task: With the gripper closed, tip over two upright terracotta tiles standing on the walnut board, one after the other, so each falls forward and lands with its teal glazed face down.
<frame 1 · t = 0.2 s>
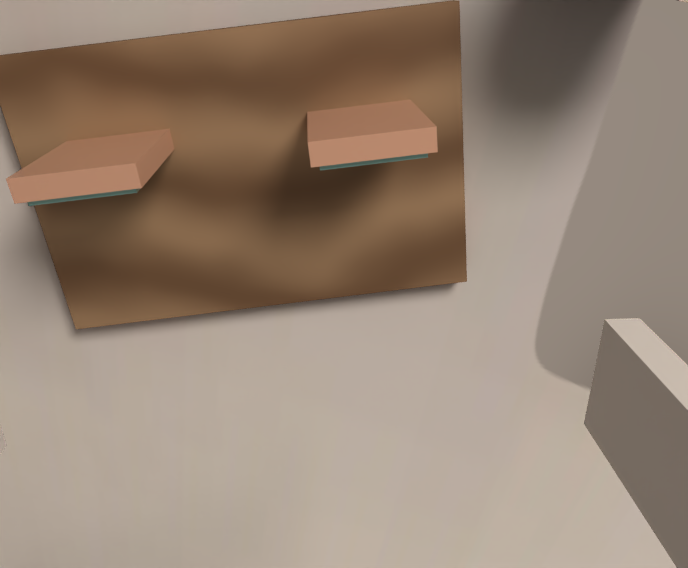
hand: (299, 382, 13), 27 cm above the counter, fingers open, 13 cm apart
tile b: (359, 116, 36), point 1 cm above the counter, touching board
board: (251, 174, 39), on the counter
tile a: (120, 145, 36), point 1 cm above the counter, touching board
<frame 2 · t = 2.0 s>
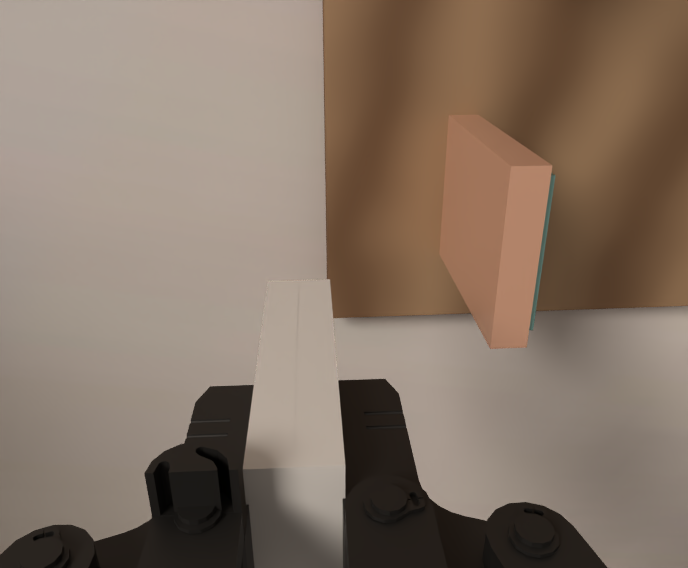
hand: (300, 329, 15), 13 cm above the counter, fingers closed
board: (537, 4, 25), on the counter
tile a: (457, 187, 26), point 1 cm above the counter, touching board
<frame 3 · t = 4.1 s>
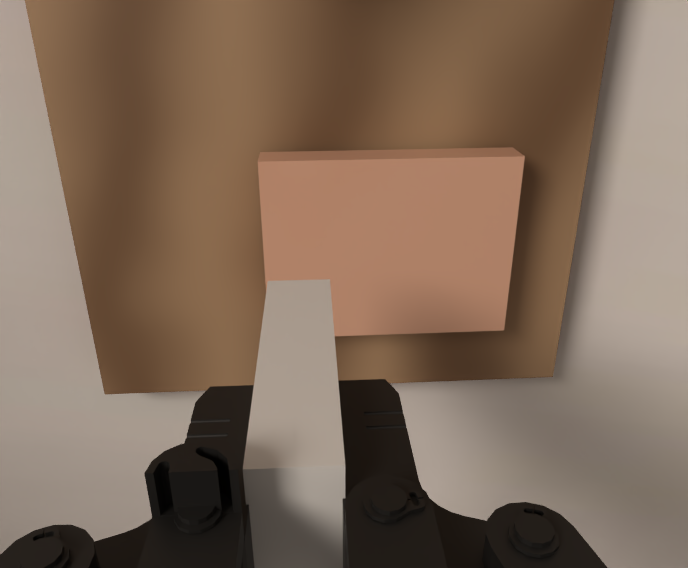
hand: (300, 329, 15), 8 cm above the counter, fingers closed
board: (325, 9, 19), on the counter
tile a: (264, 248, 20), point 2 cm above the counter, tilted 90°, touching board
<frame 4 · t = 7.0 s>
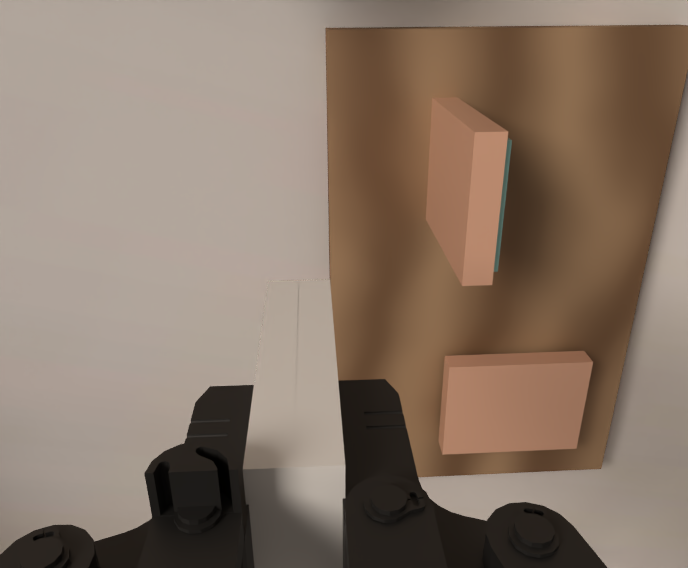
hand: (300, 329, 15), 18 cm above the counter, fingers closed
tile b: (441, 160, 30), point 1 cm above the counter, touching board
board: (480, 276, 35), on the counter
tile a: (443, 406, 36), point 2 cm above the counter, tilted 90°, touching board
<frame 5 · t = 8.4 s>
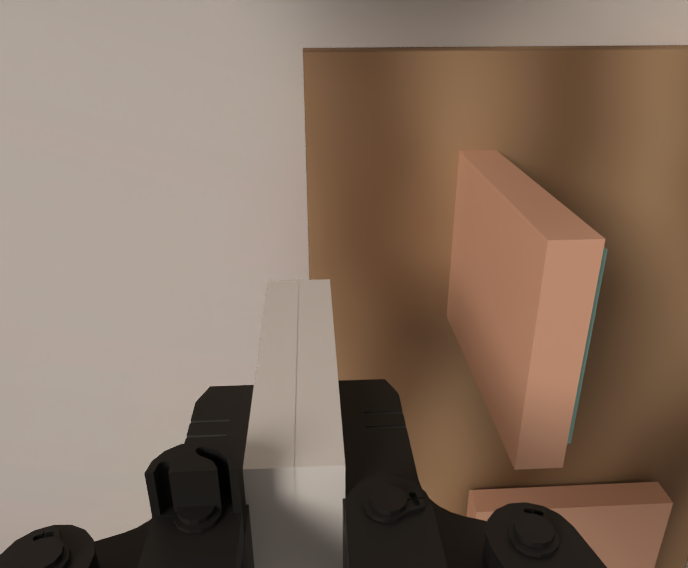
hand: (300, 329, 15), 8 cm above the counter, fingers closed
tile b: (469, 238, 21), point 1 cm above the counter, touching board
board: (518, 382, 26), on the counter
tile a: (466, 554, 26), point 2 cm above the counter, tilted 90°, touching board
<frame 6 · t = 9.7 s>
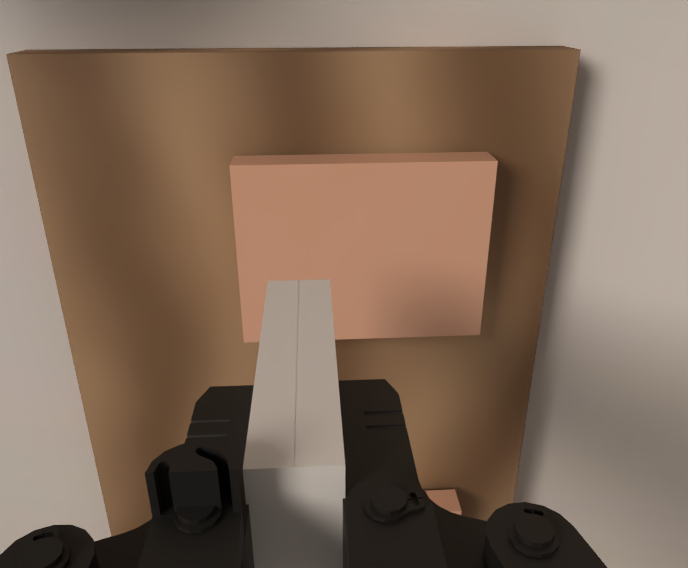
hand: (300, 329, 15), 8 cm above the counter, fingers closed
tile b: (238, 252, 20), point 2 cm above the counter, tilted 90°, touching board
board: (310, 388, 25), on the counter
tile a: (263, 563, 26), point 2 cm above the counter, tilted 90°, touching board
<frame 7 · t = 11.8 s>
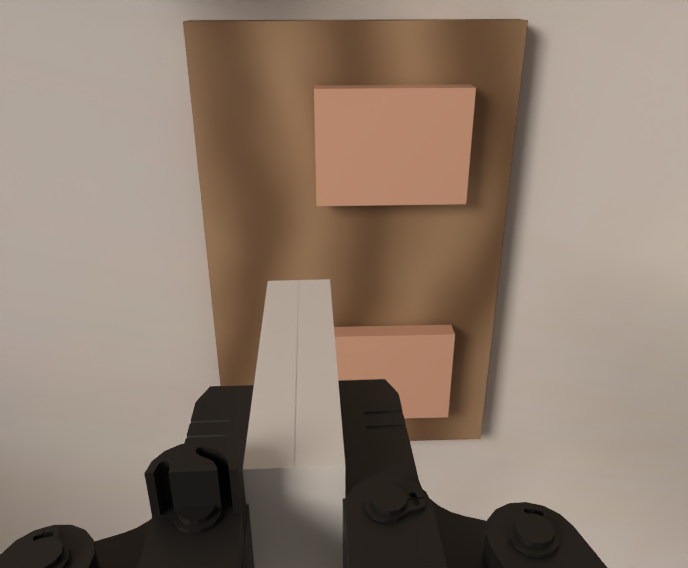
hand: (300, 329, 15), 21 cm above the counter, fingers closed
tile b: (315, 147, 32), point 2 cm above the counter, tilted 90°, touching board
board: (354, 253, 38), on the counter
tile a: (320, 374, 38), point 2 cm above the counter, tilted 90°, touching board
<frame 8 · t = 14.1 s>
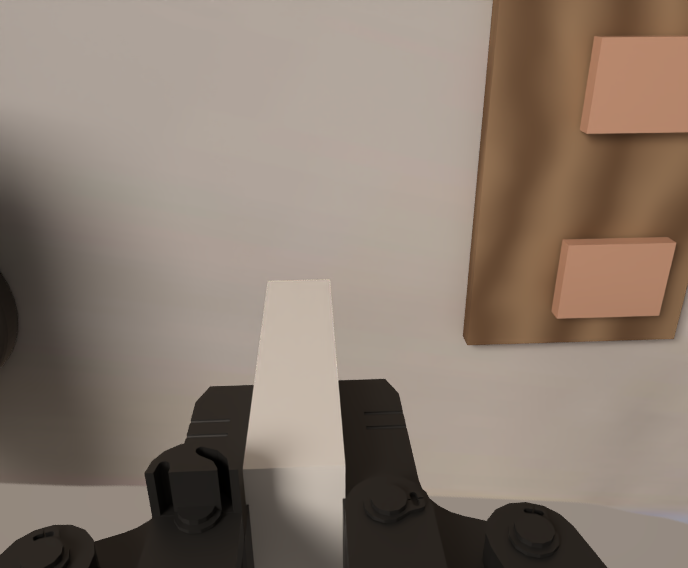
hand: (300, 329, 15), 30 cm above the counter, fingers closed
tile b: (590, 85, 41), point 2 cm above the counter, tilted 90°, touching board
board: (590, 179, 46), on the counter
tile a: (559, 279, 47), point 2 cm above the counter, tilted 90°, touching board
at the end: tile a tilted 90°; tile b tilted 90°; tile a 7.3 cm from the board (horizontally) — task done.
